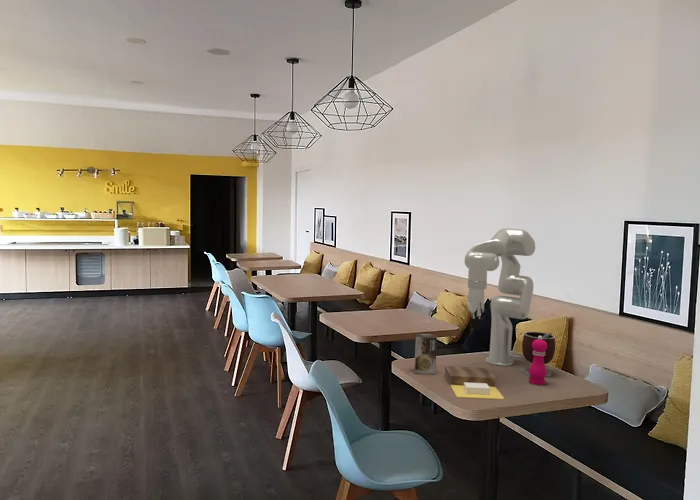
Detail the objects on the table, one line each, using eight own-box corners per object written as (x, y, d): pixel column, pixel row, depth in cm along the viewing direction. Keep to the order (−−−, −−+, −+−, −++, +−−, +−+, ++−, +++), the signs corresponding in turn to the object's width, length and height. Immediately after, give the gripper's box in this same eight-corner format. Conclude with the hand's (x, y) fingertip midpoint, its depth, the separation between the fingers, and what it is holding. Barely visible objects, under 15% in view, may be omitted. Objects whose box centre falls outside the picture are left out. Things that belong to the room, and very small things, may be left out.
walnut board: (486, 377, 236) (487, 367, 236) (494, 387, 222) (495, 377, 222) (444, 375, 236) (445, 366, 236) (450, 385, 222) (450, 376, 222)
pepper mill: (529, 378, 236) (532, 333, 234) (547, 381, 233) (550, 335, 231) (526, 383, 230) (530, 336, 228) (545, 386, 226) (548, 338, 225)
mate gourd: (514, 368, 251) (517, 325, 250) (541, 367, 254) (544, 325, 253) (533, 379, 236) (536, 333, 234) (561, 378, 239) (565, 332, 238)
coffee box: (434, 370, 243) (436, 334, 242) (435, 374, 237) (437, 337, 235) (413, 368, 244) (415, 332, 243) (414, 373, 237) (416, 336, 236)
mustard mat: (494, 387, 222) (495, 386, 222) (504, 399, 208) (504, 398, 208) (450, 385, 222) (450, 384, 222) (456, 397, 208) (457, 396, 208)
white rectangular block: (490, 388, 212) (489, 394, 212) (486, 383, 218) (486, 389, 218) (466, 387, 212) (466, 393, 212) (463, 382, 218) (463, 388, 218)
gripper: (464, 281, 235) (462, 323, 237) (472, 287, 221) (470, 332, 223) (481, 281, 236) (479, 323, 238) (491, 287, 221) (488, 332, 223)
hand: (475, 327), depth 230 cm, fingers closed
